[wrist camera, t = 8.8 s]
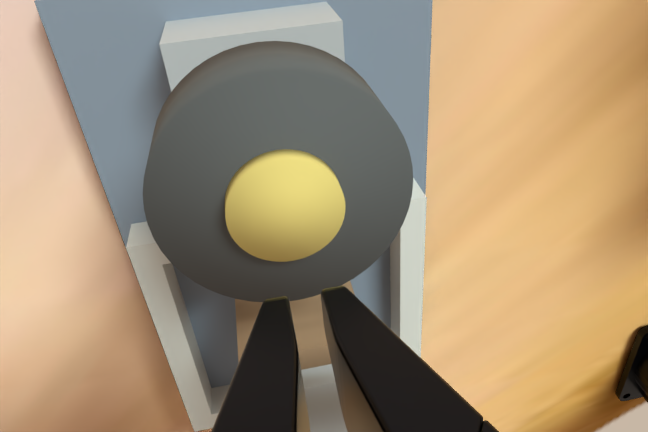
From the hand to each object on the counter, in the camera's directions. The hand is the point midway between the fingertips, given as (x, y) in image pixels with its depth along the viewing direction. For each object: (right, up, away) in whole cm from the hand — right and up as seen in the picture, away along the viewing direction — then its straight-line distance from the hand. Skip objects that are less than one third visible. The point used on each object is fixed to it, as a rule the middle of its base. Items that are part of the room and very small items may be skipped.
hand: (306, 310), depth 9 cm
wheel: (-1, +3, +5) cm, 5 cm away
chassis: (-2, +2, +13) cm, 13 cm away
